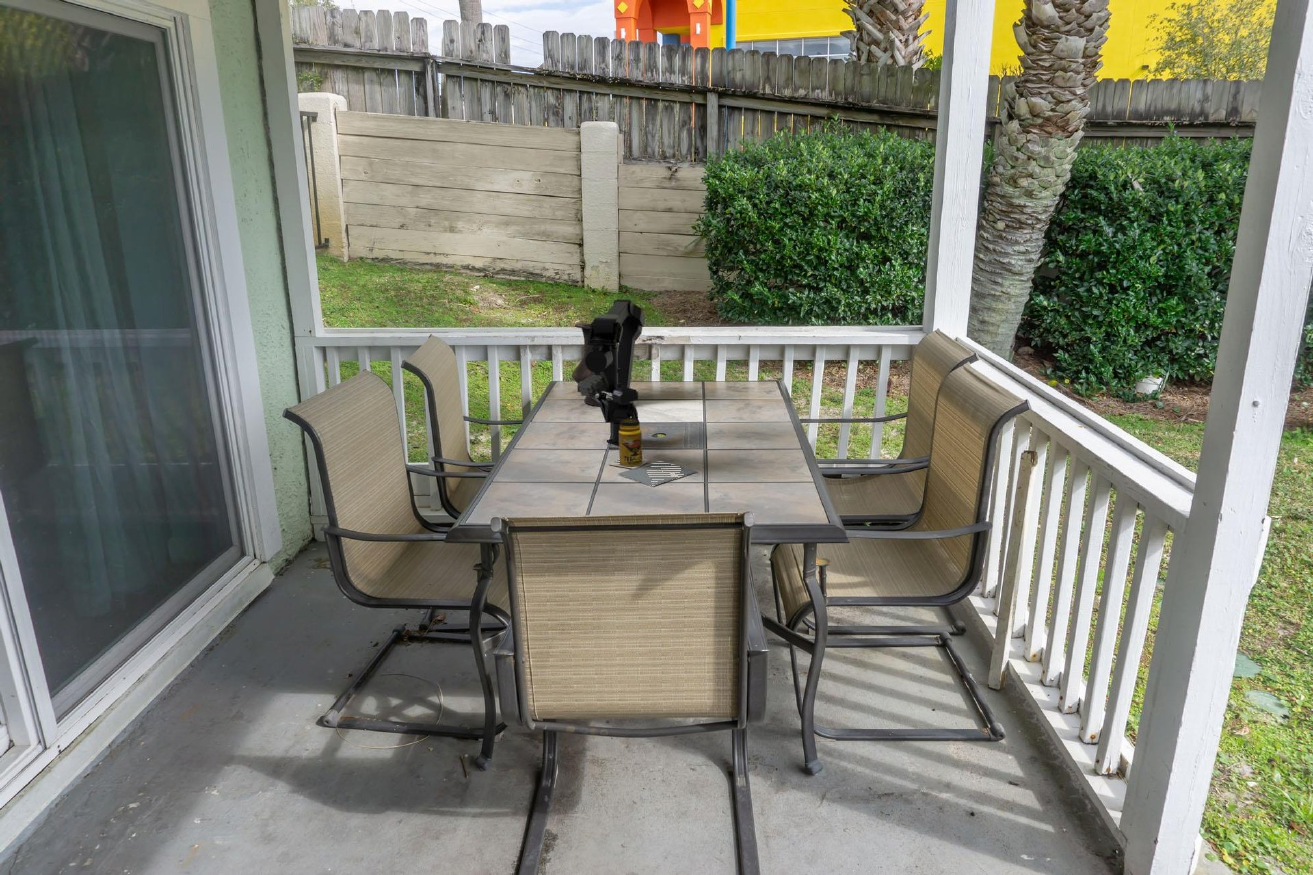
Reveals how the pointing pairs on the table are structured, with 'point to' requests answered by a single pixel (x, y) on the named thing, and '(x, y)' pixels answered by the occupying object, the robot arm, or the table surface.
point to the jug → (581, 370)
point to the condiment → (630, 444)
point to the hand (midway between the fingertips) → (607, 421)
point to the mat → (643, 477)
